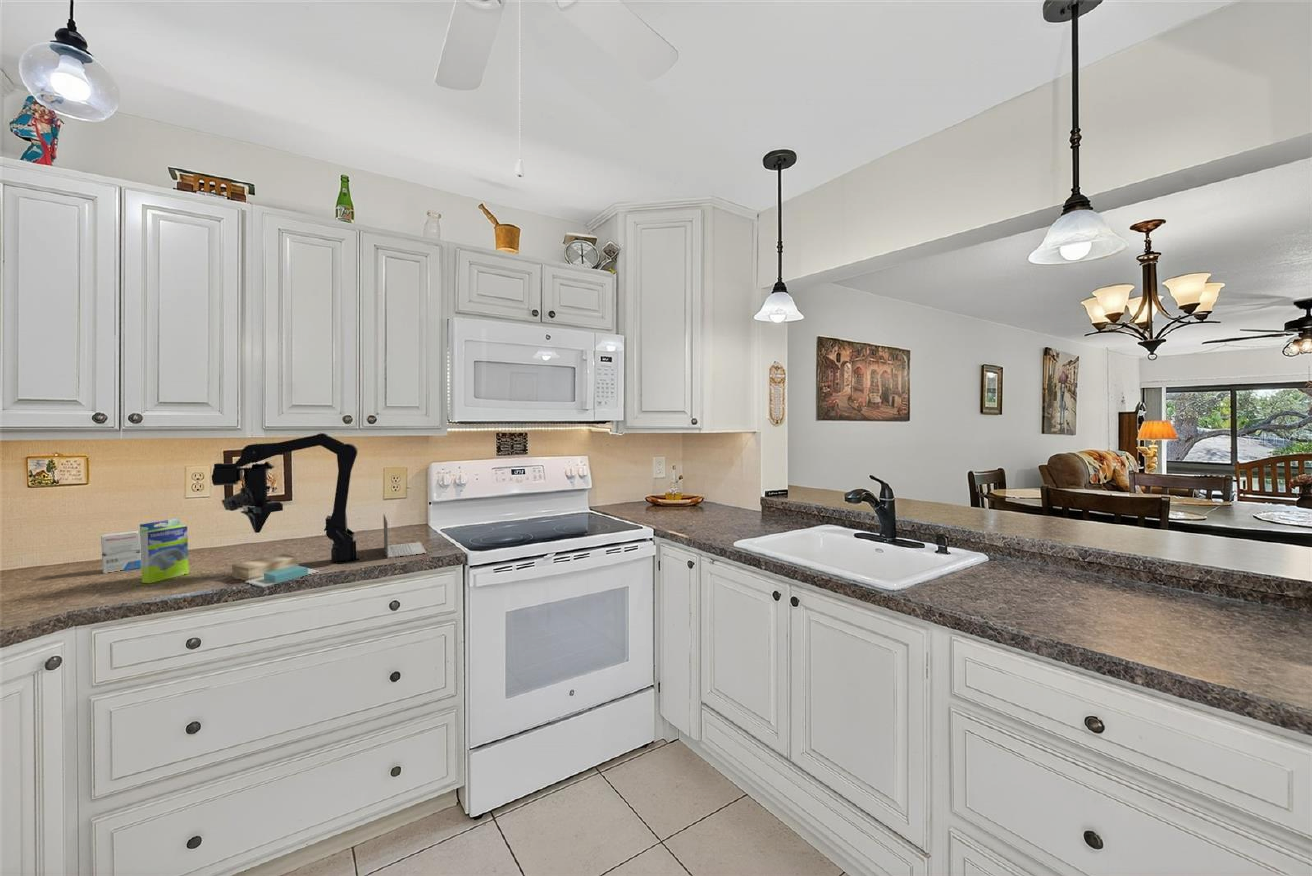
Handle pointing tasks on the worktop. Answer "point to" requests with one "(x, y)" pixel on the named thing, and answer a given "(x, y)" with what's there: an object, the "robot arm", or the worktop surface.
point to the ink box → (121, 551)
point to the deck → (262, 566)
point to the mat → (264, 583)
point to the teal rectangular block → (285, 573)
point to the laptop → (400, 546)
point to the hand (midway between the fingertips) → (257, 532)
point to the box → (163, 550)
